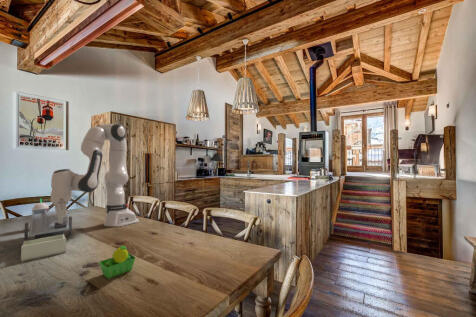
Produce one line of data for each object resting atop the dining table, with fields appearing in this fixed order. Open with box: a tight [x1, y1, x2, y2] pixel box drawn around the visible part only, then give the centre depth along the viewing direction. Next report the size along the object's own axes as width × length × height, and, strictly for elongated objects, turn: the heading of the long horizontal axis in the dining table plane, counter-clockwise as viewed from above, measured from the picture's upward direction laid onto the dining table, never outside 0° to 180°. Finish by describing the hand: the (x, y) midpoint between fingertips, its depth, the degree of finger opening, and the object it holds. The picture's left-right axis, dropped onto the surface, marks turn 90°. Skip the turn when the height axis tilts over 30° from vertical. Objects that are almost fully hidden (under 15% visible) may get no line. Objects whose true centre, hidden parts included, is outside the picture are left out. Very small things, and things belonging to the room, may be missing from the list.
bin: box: [20, 233, 67, 263], centre depth 106 cm, size 16×16×7 cm
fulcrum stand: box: [23, 215, 73, 242], centre depth 124 cm, size 20×4×11 cm, turn 132°
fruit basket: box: [98, 245, 136, 279], centre depth 87 cm, size 11×9×11 cm
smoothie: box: [31, 198, 50, 212], centre depth 142 cm, size 8×8×20 cm
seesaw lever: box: [28, 208, 69, 237], centre depth 124 cm, size 16×28×4 cm, turn 42°
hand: (60, 223), depth 119 cm, fingers closed
